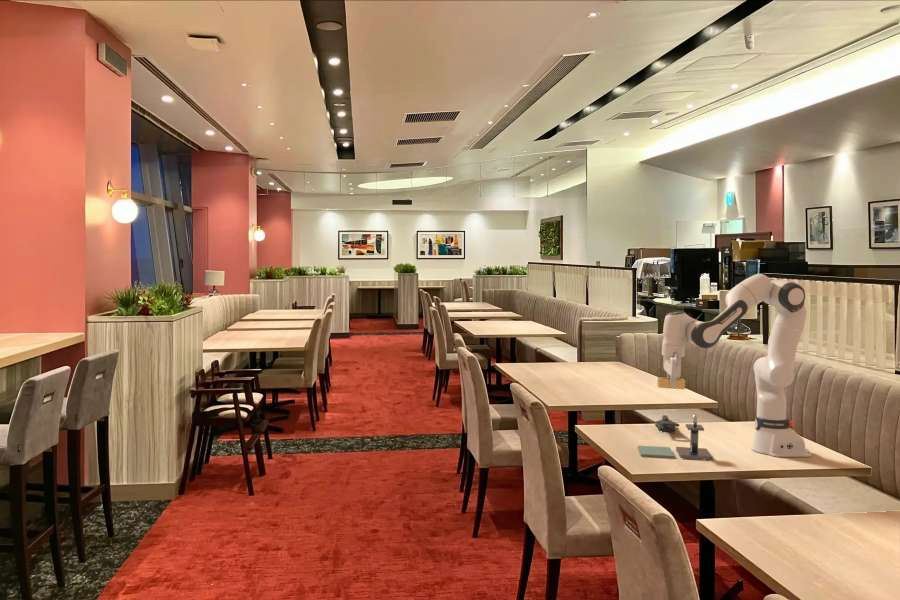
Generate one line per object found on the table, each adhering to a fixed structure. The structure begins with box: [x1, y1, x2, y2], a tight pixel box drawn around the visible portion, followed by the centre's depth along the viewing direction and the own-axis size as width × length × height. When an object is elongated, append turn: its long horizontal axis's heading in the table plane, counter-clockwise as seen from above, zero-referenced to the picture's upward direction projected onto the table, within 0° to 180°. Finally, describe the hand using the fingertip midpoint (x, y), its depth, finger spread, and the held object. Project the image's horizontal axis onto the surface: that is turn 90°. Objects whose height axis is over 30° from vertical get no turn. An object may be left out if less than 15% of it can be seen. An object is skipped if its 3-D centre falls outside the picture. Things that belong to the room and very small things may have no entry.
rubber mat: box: [637, 445, 676, 459], centre depth 280 cm, size 13×13×1 cm
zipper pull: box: [654, 414, 680, 433], centre depth 316 cm, size 9×7×25 cm
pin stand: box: [675, 414, 713, 461], centre depth 277 cm, size 12×12×16 cm
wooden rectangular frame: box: [657, 376, 686, 390], centre depth 277 cm, size 10×5×4 cm, turn 81°
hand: (671, 385), depth 277 cm, fingers closed on wooden rectangular frame, 5 cm apart
